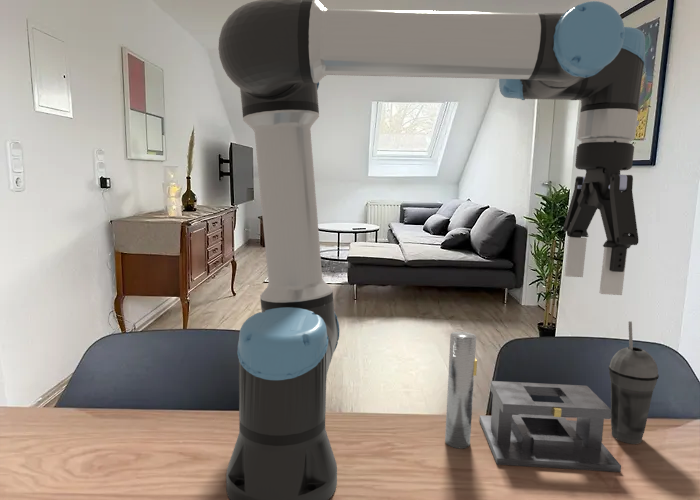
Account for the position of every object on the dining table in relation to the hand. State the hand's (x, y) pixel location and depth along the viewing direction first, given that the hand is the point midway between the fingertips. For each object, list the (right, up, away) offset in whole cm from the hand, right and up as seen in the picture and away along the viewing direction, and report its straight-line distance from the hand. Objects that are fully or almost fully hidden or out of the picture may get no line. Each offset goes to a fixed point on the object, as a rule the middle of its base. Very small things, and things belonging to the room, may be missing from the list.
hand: (590, 284), depth 75 cm
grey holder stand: (-5, -26, +5) cm, 27 cm away
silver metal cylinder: (-19, -26, +5) cm, 33 cm away
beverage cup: (+10, -27, +8) cm, 30 cm away
